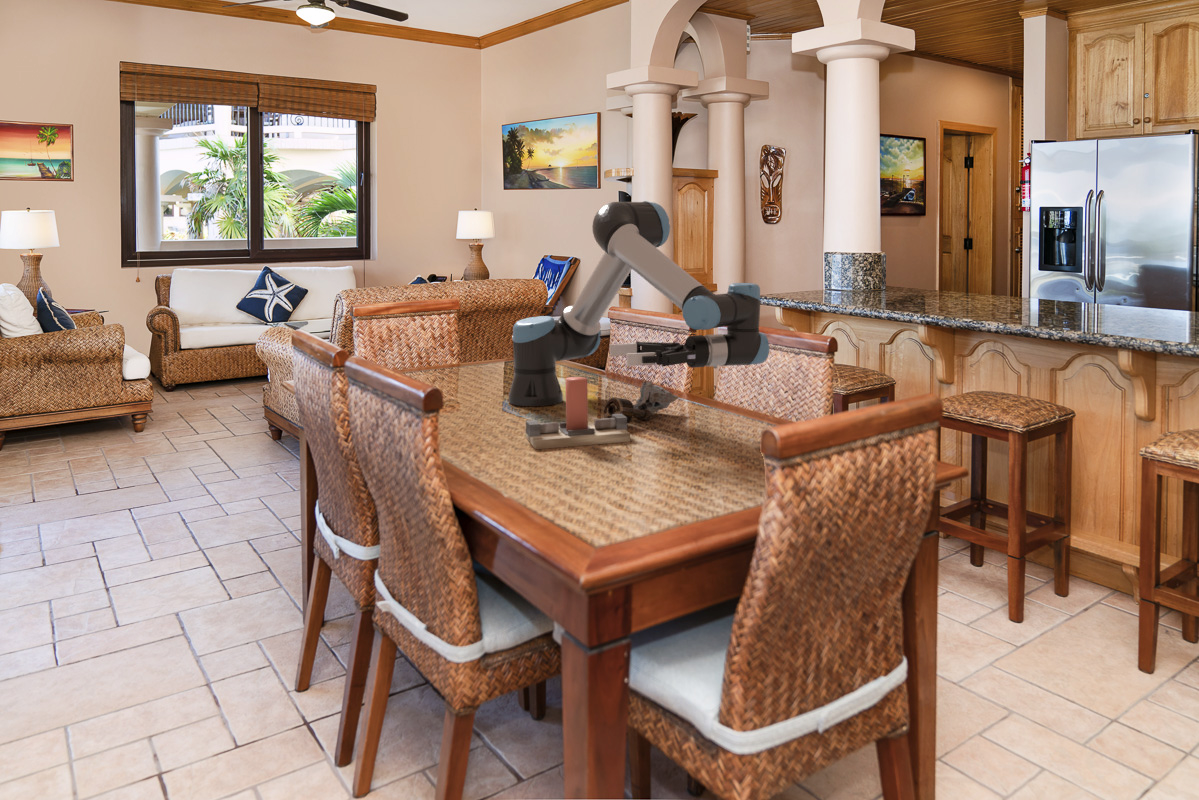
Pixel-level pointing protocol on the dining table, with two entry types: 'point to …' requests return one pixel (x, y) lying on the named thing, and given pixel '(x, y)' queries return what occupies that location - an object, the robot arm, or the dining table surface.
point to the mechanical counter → (624, 409)
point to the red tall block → (576, 403)
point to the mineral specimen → (654, 398)
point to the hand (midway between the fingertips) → (618, 354)
